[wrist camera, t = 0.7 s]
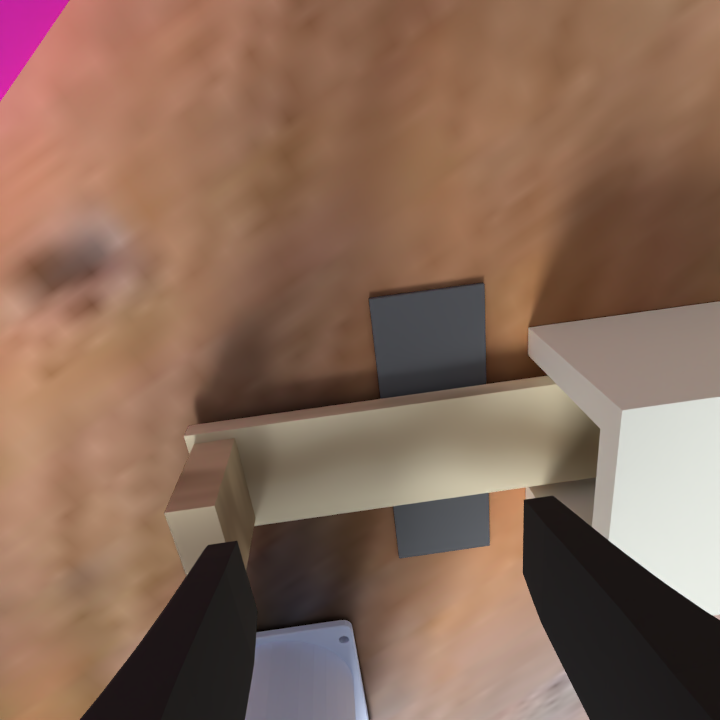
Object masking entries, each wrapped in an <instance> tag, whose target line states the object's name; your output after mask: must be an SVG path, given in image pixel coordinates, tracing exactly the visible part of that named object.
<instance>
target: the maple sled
mask: <svg viewBox="0 0 720 720" xmlns="http://www.w3.org/2000/svg"><path fill="white" fill-rule="evenodd" d="M184 439H185V442H186V445H187V448H188V452H189V457H188V459H187V461H186V464H185V466H184V468H183V471H182V473H181V475H180V478H179V480H178V482H177V485H176V487H175V489H174V491H173V494H172V496H171V498H170V501H169V503H168V505H167V508H166V510H165V512H164V514H165V517H166V519H167V522H168V525H169V528H170V531H171V534H172V537H173V539H174V542H175V545H176V548H177V551H178V554H179V557H180V559H181V562H182V565H183V568H184V571H185V574H186V576H187V574H188V573H189V571H190V570H191V568H192V567H193V565H194V564H195V562H196V561H197V559H198V558H199V556H200V555H201V553H202V552H203V550H204V549H205V548H206V547H207V545H210V544H217V543H224V542H231V541H238V545H239V548H240V552H241V555H242V559H243V562H244V566H245V569H247V563H248V558H249V552H250V547H251V541H252V535H253V530H254V526H258V525H265V524H272V523H279V522H286V521H293V520H300V519H307V518H314V517H321V516H328V515H335V514H342V513H349V512H356V511H363V510H370V509H377V508H384V507H391V506H398V505H405V504H412V503H419V502H426V501H433V500H440V499H448V498H455V497H462V496H469V495H476V494H483V493H490V492H497V491H504V490H511V489H518V488H525V487H532V486H539V485H546V484H553V483H560V482H567V481H574V480H581V479H588V478H595V477H596V474H597V463H598V451H599V439H600V428H599V427H598V426H597V425H596V424H595V423H594V422H593V421H592V420H591V419H590V418H589V417H588V416H587V415H586V414H585V413H584V412H583V411H582V410H581V409H580V408H579V406H578V405H577V404H576V403H575V402H574V401H573V400H572V399H571V398H570V397H569V396H568V395H567V394H566V393H565V392H564V391H563V390H562V389H561V388H560V387H559V386H558V385H557V384H556V383H555V382H554V381H553V380H552V379H551V378H550V377H549V376H541V377H534V378H527V379H520V380H513V381H505V382H498V383H491V384H484V385H477V386H470V387H462V388H455V389H448V390H441V391H434V392H426V393H419V394H412V395H405V396H398V397H390V398H383V399H376V400H369V401H362V402H354V403H347V404H340V405H333V406H326V407H319V408H311V409H304V410H297V411H290V412H283V413H275V414H268V415H261V416H254V417H247V418H239V419H232V420H225V421H218V422H211V423H204V424H196V425H189V426H188V428H187V430H186V433H185V435H184Z"/></svg>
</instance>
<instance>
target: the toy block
mask: <svg viewBox="0 0 720 720" xmlns="http://www.w3.org/2000/svg"><path fill="white" fill-rule="evenodd" d="M68 2H69V0H0V101H1V100H2V98H3V97H4V95H5V94H6V92H7V91H8V90H9V88H10V87H11V85H12V84H13V82H14V81H15V79H16V78H17V76H18V75H19V73H20V72H21V70H22V69H23V68H24V66H25V65H26V63H27V62H28V60H29V59H30V57H31V56H32V54H33V53H34V51H35V50H36V49H37V47H38V46H39V44H40V43H41V41H42V40H43V38H44V37H45V35H46V34H47V32H48V31H49V29H50V28H51V27H52V25H53V24H54V22H55V21H56V19H57V18H58V16H59V15H60V13H61V12H62V10H63V9H64V8H65V6H66V5H67V3H68Z"/></svg>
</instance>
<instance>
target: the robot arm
mask: <svg viewBox="0 0 720 720" xmlns="http://www.w3.org/2000/svg"><path fill="white" fill-rule="evenodd" d="M523 575H524V577H525V580H526V583H527V586H528V589H529V591H530V594H531V597H532V600H533V602H534V605H535V608H536V610H537V613H538V615H539V618H540V621H541V623H542V625H543V627H544V629H545V631H546V633H547V635H548V637H549V639H550V641H551V643H552V645H553V647H554V649H555V651H556V653H557V655H558V657H559V659H560V661H561V663H562V665H563V667H564V669H565V671H566V673H567V675H568V677H569V679H570V681H571V683H572V685H573V687H574V689H575V691H576V693H577V695H578V697H579V699H580V701H581V703H582V705H583V707H584V709H585V711H586V713H587V715H588V717H589V719H590V720H720V620H718V619H717V618H715V617H714V616H712V615H711V614H709V613H708V612H706V611H705V610H703V609H702V608H700V607H699V606H697V605H696V604H694V603H693V602H692V601H690V600H689V599H687V598H686V597H684V596H683V595H681V594H680V593H678V592H677V591H676V590H674V589H673V588H671V587H670V586H668V585H667V584H666V583H664V582H663V581H661V580H660V579H659V578H657V577H656V576H655V575H653V574H652V573H651V572H649V571H648V570H647V569H645V568H644V567H643V566H641V565H640V564H639V563H637V562H636V561H635V560H633V559H632V558H631V557H629V556H628V555H627V554H625V553H624V552H623V551H622V550H620V549H619V548H618V547H616V546H615V545H614V544H613V543H611V542H610V541H609V540H608V539H606V538H605V537H604V536H603V535H601V534H600V533H599V532H598V531H596V530H595V529H594V528H593V527H591V526H590V525H589V524H588V523H586V522H585V521H584V520H583V519H582V518H580V517H579V516H578V515H577V514H575V513H574V512H573V511H572V510H570V509H569V508H568V507H567V506H566V505H564V504H563V503H562V502H561V501H559V500H558V499H557V498H556V497H554V496H546V497H539V498H532V499H525V500H524V533H523ZM256 629H257V608H256V605H255V601H254V598H253V594H252V591H251V587H250V584H249V580H248V576H247V573H246V569H245V566H244V562H243V559H242V555H241V552H240V548H239V545H238V541H231V542H224V543H217V544H210V545H207V547H206V548H205V549H204V550H203V552H202V553H201V555H200V556H199V558H198V559H197V561H196V562H195V564H194V565H193V567H192V568H191V570H190V571H189V573H188V574H187V576H186V578H185V579H184V581H183V582H182V584H181V585H180V587H179V588H178V589H177V591H176V592H175V594H174V595H173V597H172V598H171V600H170V601H169V603H168V604H167V606H166V607H165V609H164V610H163V611H162V613H161V614H160V616H159V617H158V618H157V620H156V621H155V623H154V624H153V625H152V627H151V628H150V630H149V631H148V633H147V634H146V635H145V637H144V638H143V640H142V641H141V642H140V644H139V645H138V646H137V648H136V649H135V650H134V652H133V653H132V654H131V656H130V657H129V658H128V660H127V661H126V662H125V663H124V665H123V666H122V667H121V669H120V670H119V671H118V673H117V674H116V675H115V676H114V678H113V679H112V680H111V682H110V683H109V684H108V686H107V687H106V688H105V689H104V691H103V692H102V693H101V694H100V696H99V697H98V698H97V699H96V701H95V702H94V703H93V704H92V705H91V707H90V708H89V709H88V710H87V712H86V713H85V714H84V715H83V716H82V717H81V719H80V720H369V717H368V711H367V706H366V700H365V694H364V689H363V683H362V678H361V672H360V667H359V661H358V656H357V650H356V644H355V639H354V633H353V628H352V624H351V623H350V622H349V621H347V620H337V621H330V622H324V623H317V624H310V625H303V626H296V627H289V628H283V629H276V630H269V631H262V632H256Z"/></svg>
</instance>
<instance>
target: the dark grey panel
mask: <svg viewBox="0 0 720 720" xmlns="http://www.w3.org/2000/svg"><path fill="white" fill-rule="evenodd" d="M369 305H370V313H371V322H372V331H373V339H374V348H375V356H376V365H377V373H378V382H379V390H380V399H383V398H390V397H398V396H405V395H412V394H419V393H426V392H434V391H441V390H448V389H455V388H462V387H470V386H477V385H484V384H486V340H485V290H484V283H476V284H468V285H461V286H454V287H446V288H439V289H432V290H424V291H417V292H409V293H402V294H395V295H387V296H380V297H373V298H369ZM393 510H394V519H395V527H396V536H397V544H398V553H399V558H406V557H413V556H420V555H427V554H434V553H441V552H448V551H455V550H462V549H469V548H476V547H482V546H489V545H490V538H489V493H483V494H476V495H469V496H462V497H455V498H448V499H440V500H433V501H426V502H419V503H412V504H405V505H398V506H393Z"/></svg>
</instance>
